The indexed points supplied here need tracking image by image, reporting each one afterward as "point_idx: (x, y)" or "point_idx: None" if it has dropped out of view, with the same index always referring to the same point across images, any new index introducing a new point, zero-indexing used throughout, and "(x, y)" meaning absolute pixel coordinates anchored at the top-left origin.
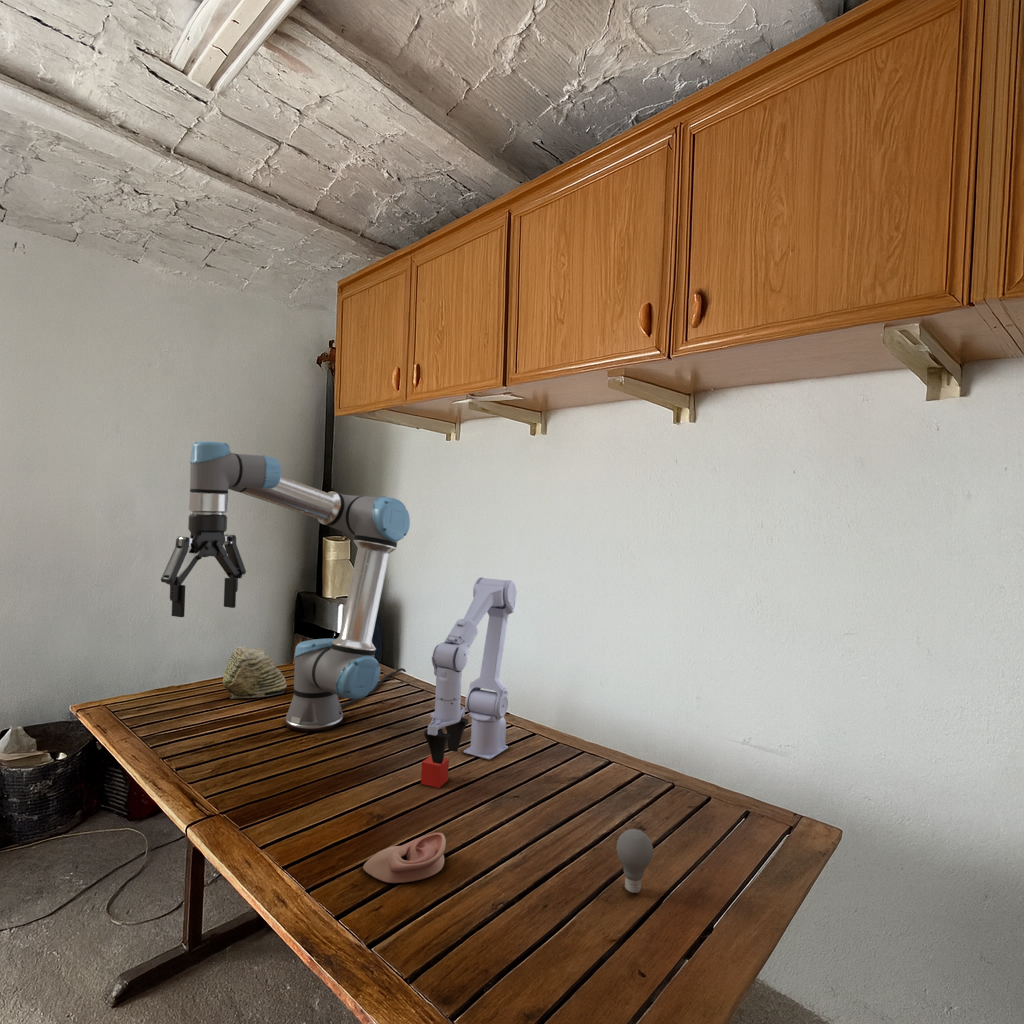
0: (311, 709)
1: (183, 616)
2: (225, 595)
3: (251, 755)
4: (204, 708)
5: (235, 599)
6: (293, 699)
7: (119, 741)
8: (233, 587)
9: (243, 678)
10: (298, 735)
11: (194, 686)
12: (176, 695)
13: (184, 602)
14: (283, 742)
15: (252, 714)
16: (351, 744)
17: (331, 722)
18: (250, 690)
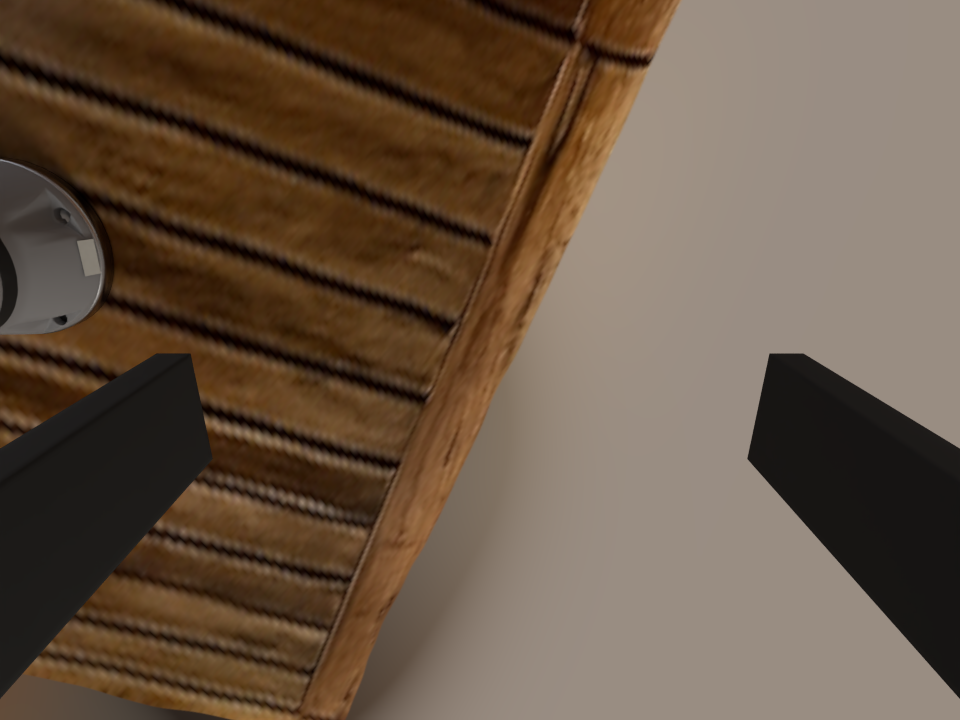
0: (25, 222)
1: (781, 354)
2: (146, 510)
3: (299, 233)
4: (171, 553)
5: (104, 387)
6: (29, 306)
7: (409, 541)
8: (22, 469)
9: None
10: (126, 220)
11: (95, 674)
12: (162, 658)
13: (862, 415)
14: (188, 221)
15: None
16: (60, 15)
17: (8, 162)
18: None
